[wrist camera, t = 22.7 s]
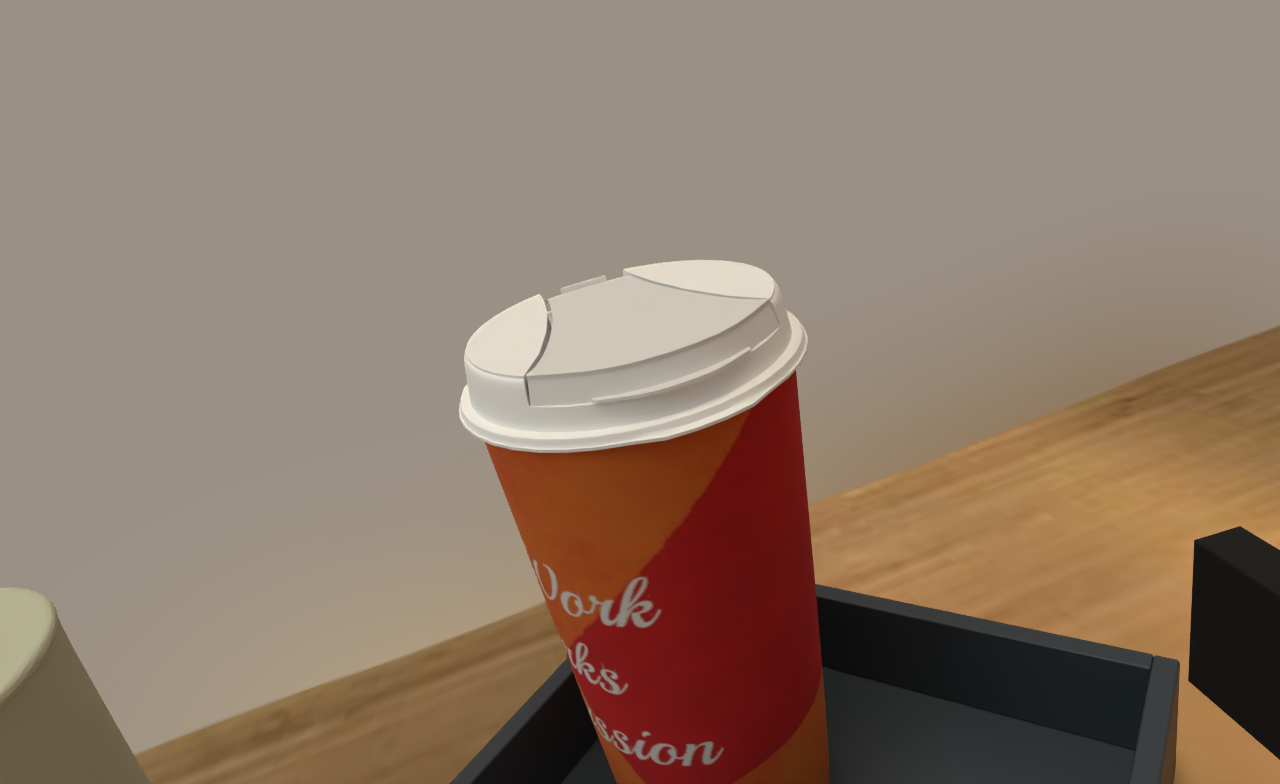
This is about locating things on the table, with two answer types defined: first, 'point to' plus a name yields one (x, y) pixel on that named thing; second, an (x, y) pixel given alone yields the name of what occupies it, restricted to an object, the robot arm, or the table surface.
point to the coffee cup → (666, 513)
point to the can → (52, 704)
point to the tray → (917, 707)
